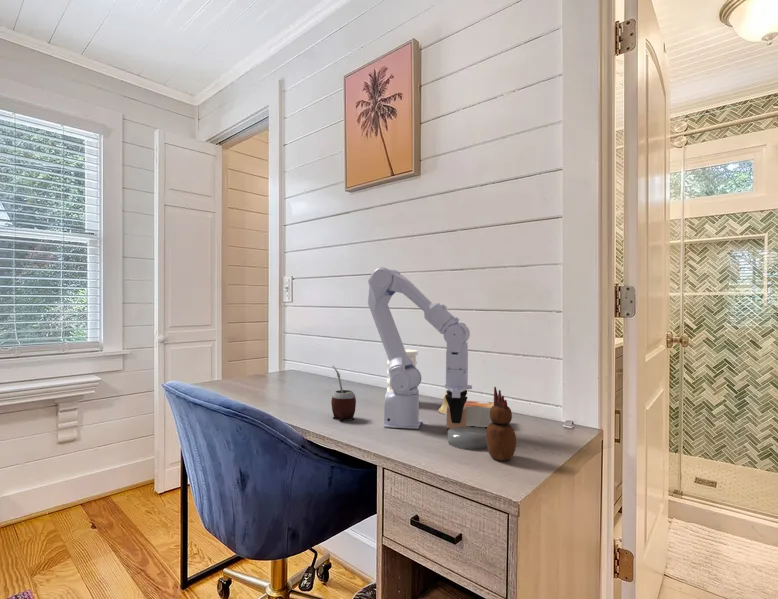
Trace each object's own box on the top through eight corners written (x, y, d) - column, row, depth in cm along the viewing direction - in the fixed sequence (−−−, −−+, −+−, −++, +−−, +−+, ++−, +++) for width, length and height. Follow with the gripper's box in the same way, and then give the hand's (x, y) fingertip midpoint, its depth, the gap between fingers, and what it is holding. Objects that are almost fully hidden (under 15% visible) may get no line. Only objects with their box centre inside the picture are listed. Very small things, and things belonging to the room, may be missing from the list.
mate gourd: (353, 422, 120) (353, 369, 121) (325, 421, 121) (326, 368, 122) (357, 416, 128) (358, 365, 128) (332, 415, 129) (332, 365, 129)
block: (446, 427, 111) (446, 408, 111) (447, 423, 116) (447, 404, 116) (466, 429, 110) (466, 409, 110) (465, 424, 115) (466, 405, 115)
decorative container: (381, 406, 141) (382, 351, 141) (387, 399, 152) (387, 348, 153) (416, 408, 139) (416, 352, 139) (420, 400, 150) (420, 349, 151)
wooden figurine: (482, 453, 95) (482, 385, 96) (508, 452, 96) (508, 385, 96) (492, 464, 88) (492, 391, 89) (519, 463, 89) (519, 391, 89)
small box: (499, 408, 115) (460, 405, 117) (499, 428, 115) (460, 426, 117) (498, 401, 123) (461, 399, 125) (498, 421, 123) (461, 419, 125)
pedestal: (446, 448, 98) (447, 437, 99) (448, 435, 108) (448, 425, 108) (491, 450, 97) (491, 439, 97) (488, 437, 107) (488, 427, 107)
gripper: (472, 373, 105) (472, 428, 105) (471, 365, 120) (471, 414, 119) (444, 371, 107) (443, 426, 106) (446, 364, 121) (445, 412, 121)
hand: (456, 420), depth 113 cm, fingers closed on block, 5 cm apart
